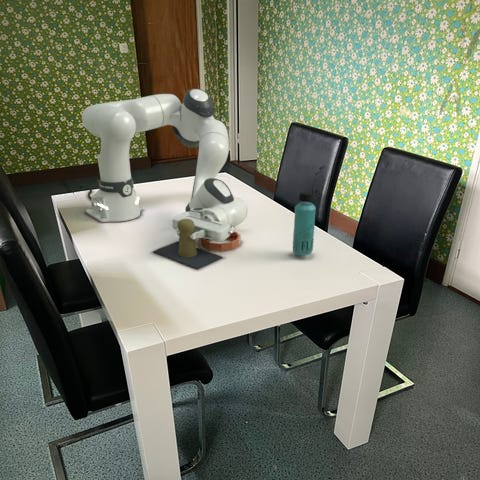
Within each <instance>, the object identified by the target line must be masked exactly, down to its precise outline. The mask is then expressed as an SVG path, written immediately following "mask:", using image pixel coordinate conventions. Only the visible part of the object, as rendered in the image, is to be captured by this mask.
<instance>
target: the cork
mask: <svg viewBox="0 0 480 480" xmlns="http://www.w3.org/2000/svg"><path fill="white" fill-rule="evenodd" d="M177 226H178V230H179V231H180V234H179V235H178V236H179V237H178V241H179V251H178V255H179V256H181V257H193V256H196V255H197V248H198V247H197V244H196V239H194V240H193V239H190V237H189V234H190V233H192V232H193V229H194V227H195V226H194V222H193V221H192V220H191V219H182V220H180V221H179V222H178V224H177Z"/></svg>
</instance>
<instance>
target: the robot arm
mask: <svg viewBox="0 0 480 480" xmlns="http://www.w3.org/2000/svg"><path fill="white" fill-rule="evenodd" d="M215 113H216V108H215V107H214V104H213V101H212V98H211V96H210V95H209V93H208V92H206V91H205V90H203V89H201V88H195V87H194V88H190V89H188V90H187V91H186V92H185V94H184V96H183V97H182V102H181V100H180V99H179V97H177V95H175V94H173V93H158V94H152V95H146V96H141V97H137V98H133V99H132V98H131V99H125V100H116V101H109V102H102V103H96V104H92V105H88V106H87V107H85V108H84V110H83V112H82V114H81V122H82V125H83V127H84V128H85V130H87V132H89V133H90V134H91V135H93V136H94V137H96V138H99V139H100V152H99V154H98V156H97V164H98V169H99V176H100V177H99V178H100V179H97V180H96V181H97V184H98V185H99V188H98V189H97V191H96V192H95V193H94V194H93V195H92V196H91V193H92V192H93V189H92V188H91V187H89V186H86V185H80V186H79V187H78V189H82V188H84V189H87V190H88V193H87V196H88V198H89V199H90V203H91V207H89V208H87V209H86V211H85V212H86V214H87V215H89V216H90V217H92V218H94V219H95V220H97V221H99V222H100V223H109V222H115V223H117V222H126V221H132V220H135V219H137V218H139V217H140V216H141V212H142V207H141V206H140V204H139V201H140V197H139V196H138V195H137V192H136V190H135V189H134V179H133V177H132V173H131V162H130V150H131V149H130V148H131V142H132V139H133V137H134V136H135V134H136V133H143V132H147V131H151V130H155V129H160V128H162V127H166V126H172V134H174V135H175V136H176V138H177V140H178V141H179V142H180V143H181V144H182V145H183V146H185V147H187V148H197V147H198V153H197V155H198V156H197V162H196V167H195V169H196V170H195V174H194V180H193V186H192V192H191V198H190V201H189V202H188V203H187V204H186V206H185V211H184V212H182V213H179V214H177V215H175V216H173V217H172V219H171V220H172V221H171V222H172V228H173V229H174V230H175V232H176V235H177V236H179V234H180V231H179V230H178V226H177V224H178V222H179V221H180V220H182V219H191V220H192V221H193V222H194V226H195V227H194V229H193V232H192V233H190V234H189V237H190V239H193V240H194V239H195V240H196V239H198V238H206V239H209V240H210V241H212V242H215V243H221V242H223V241H225V240H227V238H228V237H229V236H230V234H231V233H233V232H236V228H235V227H237V226H239V225H240V224H242V223H243V222H244V221H245V220H246V219H247V218H248V217H247V216H248V211H249V210H248V205H247V203H246V202H245V201H244V200H243V199H242V198H240V197H236V196H235V195H234V194H233V193H232V191H231V189H230V187H229V186H228V185H227V184H226V183H225V182H224V181H223V180H222V179H218V178H216V177H217V175H218V174H219V172H220V171H221V170H222V169H223V167H224V165H225V164H226V163H227V160H228V157H229V152H230V139H229V134H228V130H227V127H226V125H225V124H224V123H223V122H222V121H221V120H219V119H216V118H215V117H214V114H215Z"/></svg>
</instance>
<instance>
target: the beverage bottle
mask: <svg viewBox="0 0 480 480" xmlns="http://www.w3.org/2000/svg"><path fill="white" fill-rule="evenodd" d="M313 200H314V193H313V191H309V190H308V191H307V190H304V191H300V192H299V196H298V201H300V202H298V203H297V204H296V205H295V206H294V221H293V222H294V223H293V234H292V252H293V254H295V255H299V256H308V255H311V254H312V253H313V251H314V241H315V237H314V236H315V226H316V209H317V208H316V206H315V205H314V203H312V202H313Z"/></svg>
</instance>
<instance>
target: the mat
mask: <svg viewBox="0 0 480 480" xmlns="http://www.w3.org/2000/svg"><path fill="white" fill-rule="evenodd" d="M196 248H197V255H196V256H193V257H181V256H179V255H178V251H179V240H178V241H176V242H173V243H170V244H168V245H166V246H163V247H160V248H157V249H155V250H153V251H152V252H153V253H154V254H156V255H159V256H161V257H164V258H166V259H169V260H172V261H174V262H177V263H178V264H179V263H180V264H181V265H185V266H186V267H190V268H193V269H195V270H200V269H203V268H204V267H206V266H209V265H210V264H213V263H215V262H218V261H219V260H221V259H223V256H221V255H219V254H216V253H213V252H211V251H209V250H206V249H203V248H198V247H196Z"/></svg>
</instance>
